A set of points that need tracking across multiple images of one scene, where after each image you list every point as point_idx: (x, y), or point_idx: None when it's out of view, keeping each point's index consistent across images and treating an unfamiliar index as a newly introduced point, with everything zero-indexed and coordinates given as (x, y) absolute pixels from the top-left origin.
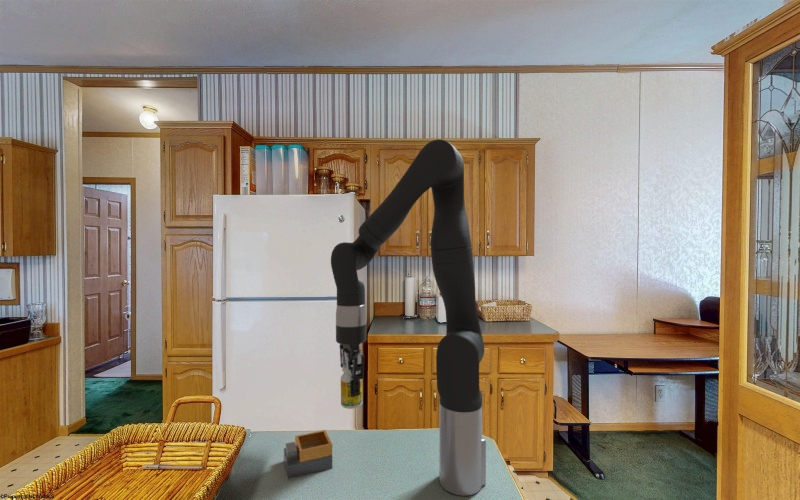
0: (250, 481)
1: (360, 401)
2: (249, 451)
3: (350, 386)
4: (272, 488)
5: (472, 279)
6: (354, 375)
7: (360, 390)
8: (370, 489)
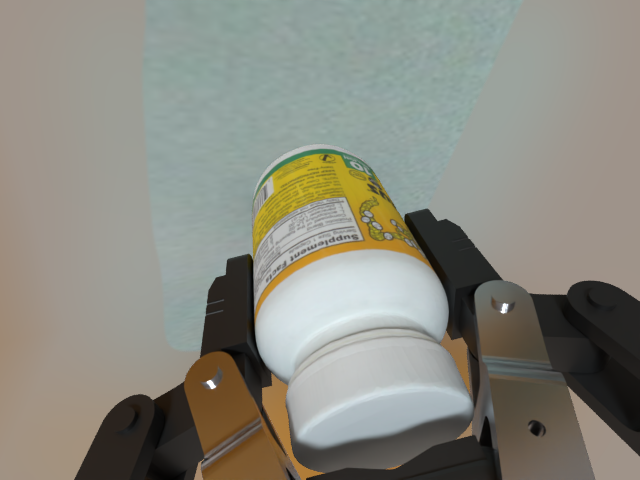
0: None
1: (367, 168)
2: None
3: None
4: None
5: None
6: (623, 375)
7: (392, 207)
8: (478, 60)
